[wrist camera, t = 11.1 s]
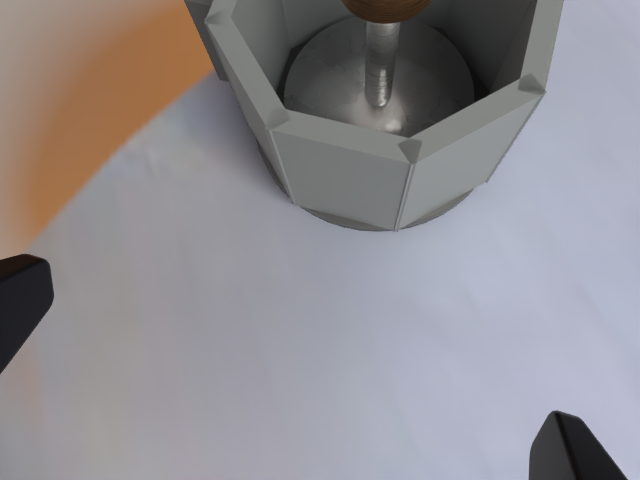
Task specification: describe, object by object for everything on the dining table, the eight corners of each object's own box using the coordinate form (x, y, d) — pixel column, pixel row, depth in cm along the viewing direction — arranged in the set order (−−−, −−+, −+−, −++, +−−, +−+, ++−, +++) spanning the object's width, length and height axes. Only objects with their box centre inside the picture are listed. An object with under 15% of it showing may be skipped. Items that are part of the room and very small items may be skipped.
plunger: (447, 208, 22) (523, 66, 12) (261, 161, 23) (191, -3, 13) (488, 42, 24) (582, -198, 14) (315, 6, 25) (288, -239, 15)
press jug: (470, 260, 23) (529, 198, 15) (196, 188, 25) (123, 100, 17) (521, 38, 26) (593, -111, 18) (271, -13, 27) (237, -168, 20)
